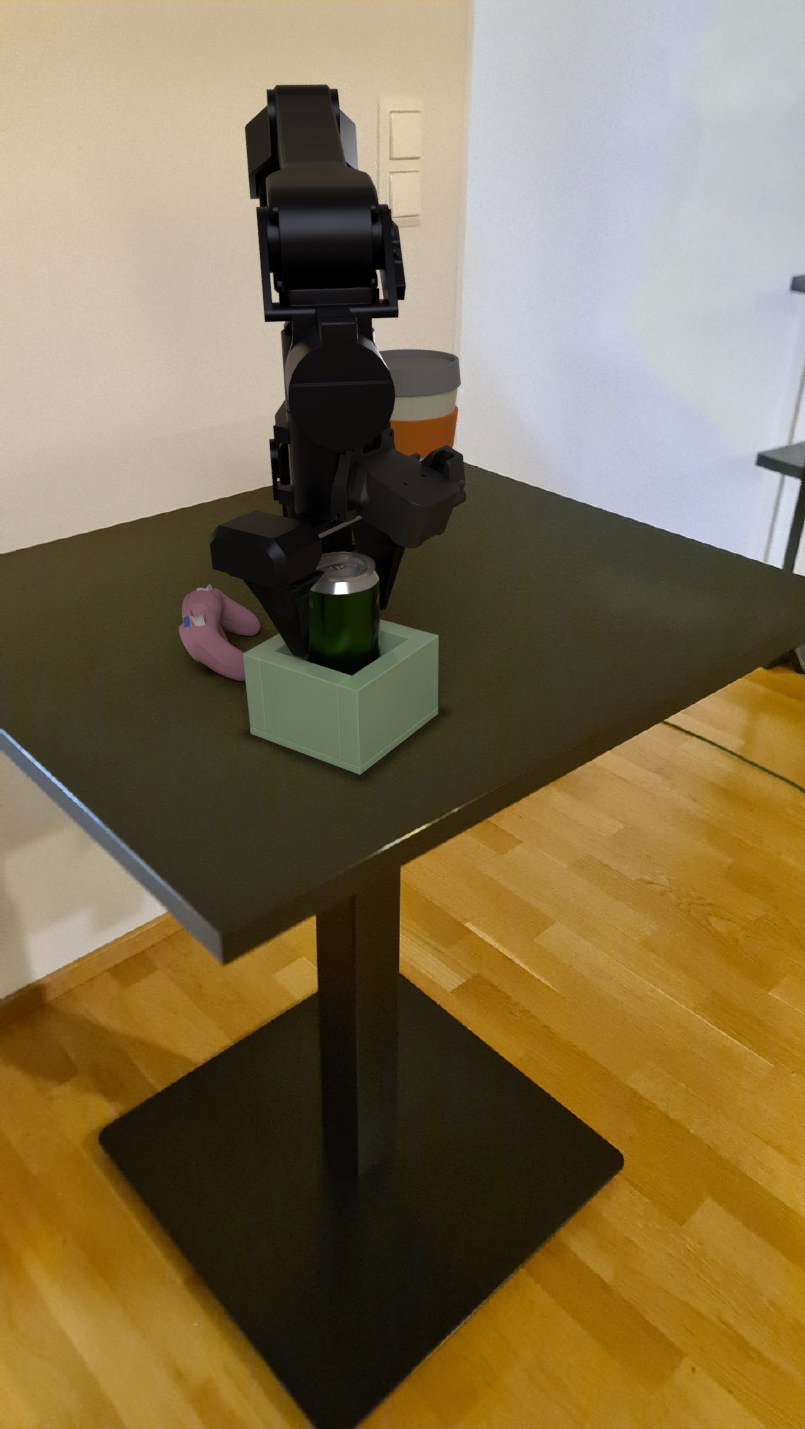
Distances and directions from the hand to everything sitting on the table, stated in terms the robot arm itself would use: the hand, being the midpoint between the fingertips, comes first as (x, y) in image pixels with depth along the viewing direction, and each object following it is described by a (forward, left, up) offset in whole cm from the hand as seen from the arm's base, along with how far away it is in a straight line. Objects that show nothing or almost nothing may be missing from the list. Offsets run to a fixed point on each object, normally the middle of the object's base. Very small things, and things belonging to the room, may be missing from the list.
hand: (341, 631), depth 72 cm
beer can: (0, 0, -7) cm, 7 cm away
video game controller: (-15, +3, -8) cm, 17 cm away
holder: (0, 0, -8) cm, 8 cm away
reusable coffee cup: (-28, +50, -8) cm, 58 cm away
